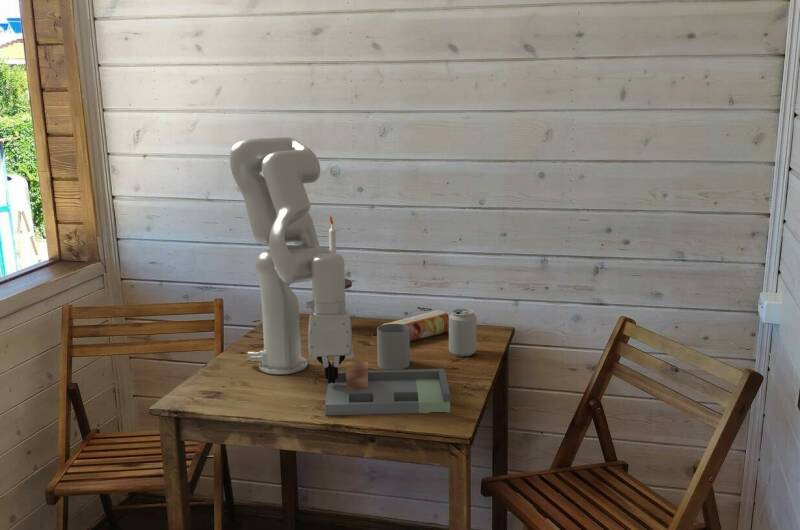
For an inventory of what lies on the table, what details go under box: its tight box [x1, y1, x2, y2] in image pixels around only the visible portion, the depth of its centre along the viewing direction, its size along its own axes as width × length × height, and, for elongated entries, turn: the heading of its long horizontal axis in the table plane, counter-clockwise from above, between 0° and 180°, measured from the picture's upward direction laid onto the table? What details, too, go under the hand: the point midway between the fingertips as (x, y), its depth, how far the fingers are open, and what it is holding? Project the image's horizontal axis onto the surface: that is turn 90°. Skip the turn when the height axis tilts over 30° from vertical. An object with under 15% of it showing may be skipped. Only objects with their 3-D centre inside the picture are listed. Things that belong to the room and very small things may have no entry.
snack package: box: [382, 309, 450, 342], centre depth 235 cm, size 21×7×7 cm, turn 126°
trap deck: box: [324, 368, 451, 416], centre depth 189 cm, size 28×16×4 cm, turn 92°
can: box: [448, 308, 478, 358], centre depth 221 cm, size 8×8×12 cm
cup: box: [376, 323, 411, 370], centre depth 213 cm, size 8×8×10 cm
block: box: [345, 361, 369, 389], centre depth 192 cm, size 5×5×5 cm
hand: (331, 381), depth 192 cm, fingers closed
